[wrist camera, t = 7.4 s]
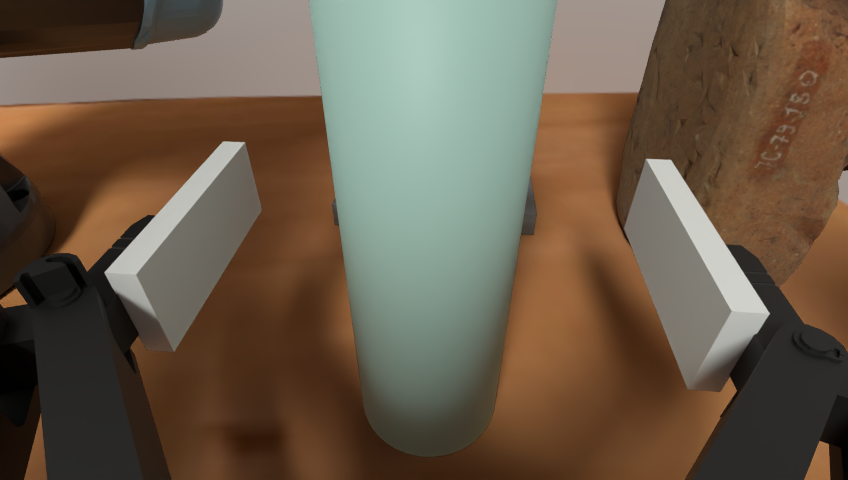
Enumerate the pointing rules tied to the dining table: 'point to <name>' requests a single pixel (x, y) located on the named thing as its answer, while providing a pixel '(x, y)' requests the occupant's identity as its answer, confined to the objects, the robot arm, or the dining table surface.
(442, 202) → the cylinder
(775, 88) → the block
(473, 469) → the dining table surface
